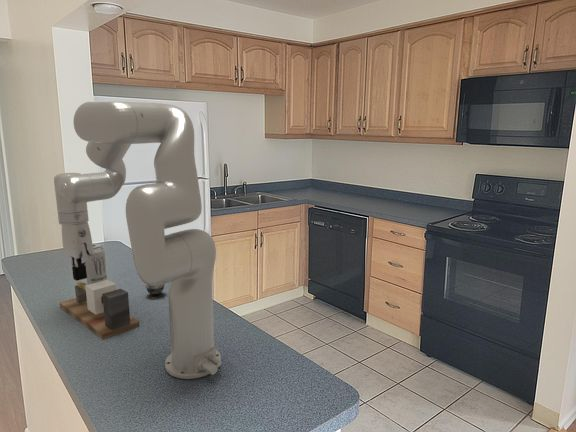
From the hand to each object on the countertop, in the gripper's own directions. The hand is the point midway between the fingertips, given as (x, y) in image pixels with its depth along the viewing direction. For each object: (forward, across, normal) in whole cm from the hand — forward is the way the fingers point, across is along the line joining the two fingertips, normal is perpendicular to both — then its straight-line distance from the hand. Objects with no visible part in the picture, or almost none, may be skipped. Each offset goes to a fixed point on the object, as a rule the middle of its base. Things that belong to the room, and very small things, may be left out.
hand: (80, 278), depth 122 cm
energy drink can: (+10, +13, -10) cm, 19 cm away
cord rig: (+10, -7, -1) cm, 12 cm away
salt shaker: (+10, -6, -20) cm, 23 cm away
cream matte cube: (+6, -11, -1) cm, 13 cm away
